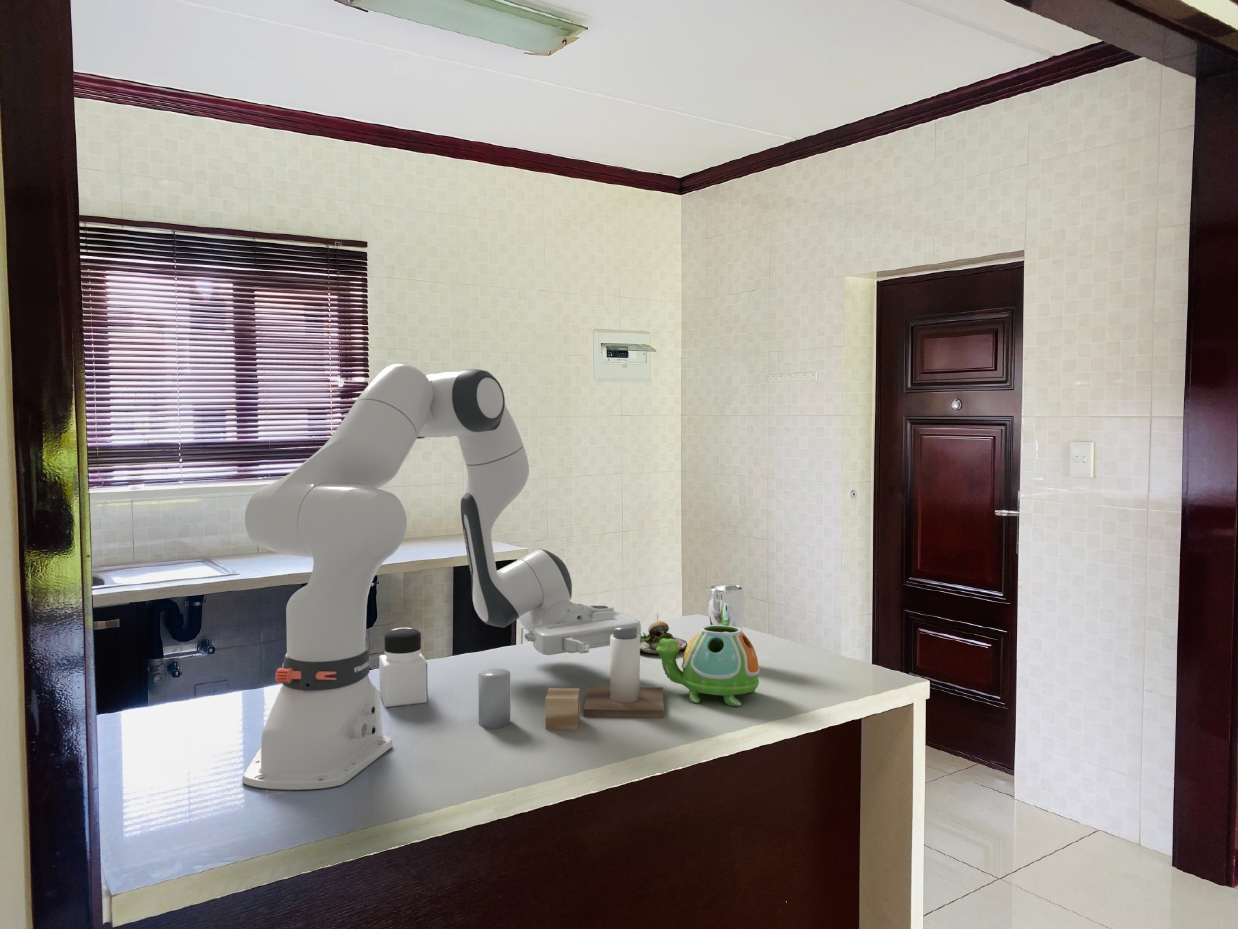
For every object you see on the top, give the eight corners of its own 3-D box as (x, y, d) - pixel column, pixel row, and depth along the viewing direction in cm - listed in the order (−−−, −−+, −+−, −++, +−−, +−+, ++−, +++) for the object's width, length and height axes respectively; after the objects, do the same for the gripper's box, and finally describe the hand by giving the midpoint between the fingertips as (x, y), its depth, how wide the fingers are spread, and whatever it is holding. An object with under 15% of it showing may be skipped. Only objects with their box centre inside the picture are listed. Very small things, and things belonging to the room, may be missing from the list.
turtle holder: (666, 679, 167) (666, 615, 167) (764, 689, 162) (765, 623, 161) (647, 700, 156) (648, 631, 155) (752, 711, 150) (753, 640, 149)
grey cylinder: (507, 728, 142) (507, 678, 141) (475, 728, 142) (475, 677, 141) (512, 717, 147) (512, 669, 146) (481, 717, 147) (481, 668, 146)
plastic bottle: (639, 703, 150) (639, 631, 149) (609, 702, 150) (609, 631, 150) (639, 693, 155) (640, 624, 154) (610, 692, 155) (610, 623, 155)
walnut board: (663, 717, 147) (663, 710, 147) (583, 716, 147) (583, 709, 147) (662, 694, 159) (662, 687, 159) (588, 693, 159) (588, 686, 159)
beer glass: (704, 666, 176) (705, 589, 175) (711, 656, 182) (712, 583, 181) (740, 669, 174) (741, 592, 173) (746, 659, 180) (747, 585, 179)
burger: (624, 656, 183) (624, 620, 183) (636, 642, 195) (637, 607, 194) (683, 661, 180) (683, 624, 180) (692, 645, 192) (692, 610, 191)
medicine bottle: (427, 703, 153) (427, 633, 153) (384, 708, 151) (383, 637, 150) (420, 690, 160) (420, 623, 159) (379, 695, 157) (378, 627, 157)
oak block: (577, 730, 141) (577, 698, 141) (545, 729, 141) (545, 698, 141) (579, 719, 146) (579, 688, 146) (548, 718, 146) (548, 688, 146)
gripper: (520, 617, 163) (555, 634, 151) (617, 604, 174) (657, 619, 162) (520, 652, 163) (555, 671, 152) (617, 637, 174) (657, 654, 162)
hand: (609, 644), depth 157 cm, fingers open, 8 cm apart
